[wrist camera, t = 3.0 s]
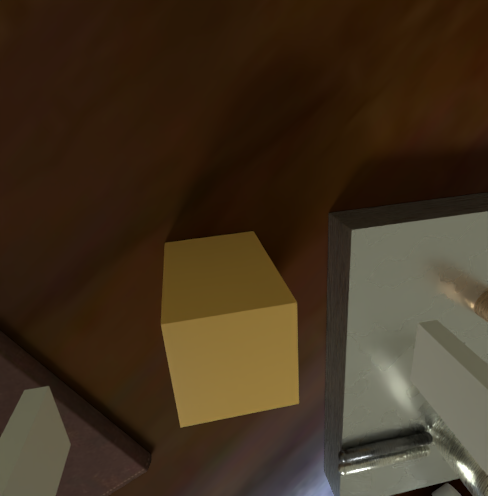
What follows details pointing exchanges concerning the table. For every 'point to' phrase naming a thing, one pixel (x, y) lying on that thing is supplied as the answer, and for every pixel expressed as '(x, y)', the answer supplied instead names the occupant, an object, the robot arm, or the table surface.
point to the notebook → (73, 428)
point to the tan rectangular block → (227, 328)
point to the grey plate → (399, 340)
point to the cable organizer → (446, 491)
